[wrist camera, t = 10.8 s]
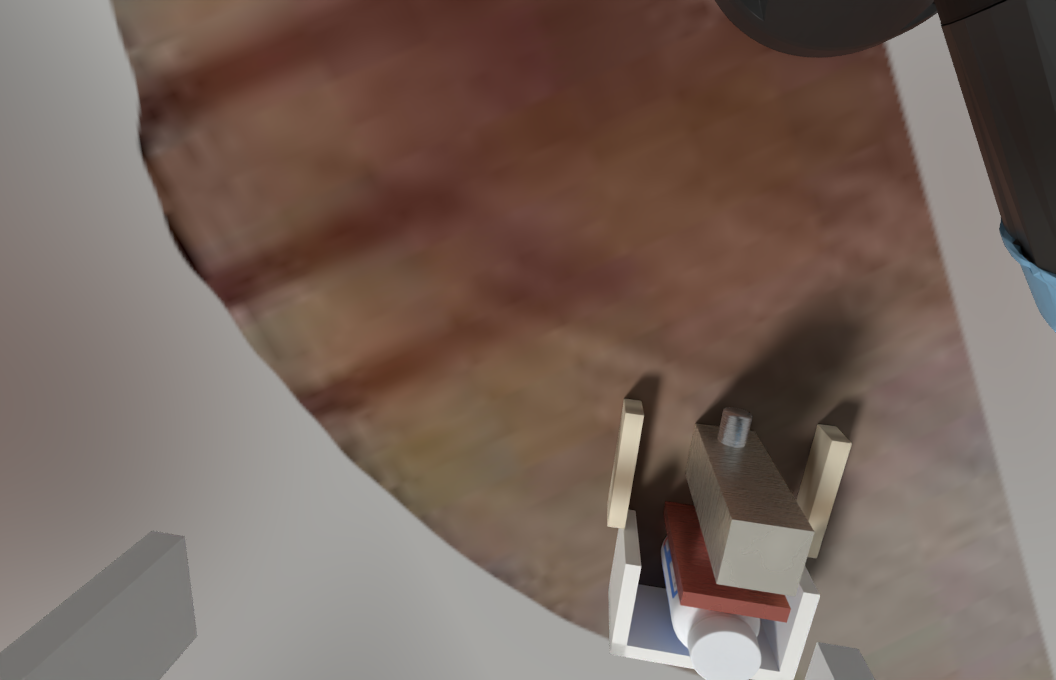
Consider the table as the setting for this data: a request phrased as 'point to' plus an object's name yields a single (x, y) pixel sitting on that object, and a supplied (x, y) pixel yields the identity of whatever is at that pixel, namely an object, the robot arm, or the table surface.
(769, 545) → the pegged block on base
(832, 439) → the lane rails
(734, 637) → the pill bottle
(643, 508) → the table surface
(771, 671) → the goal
